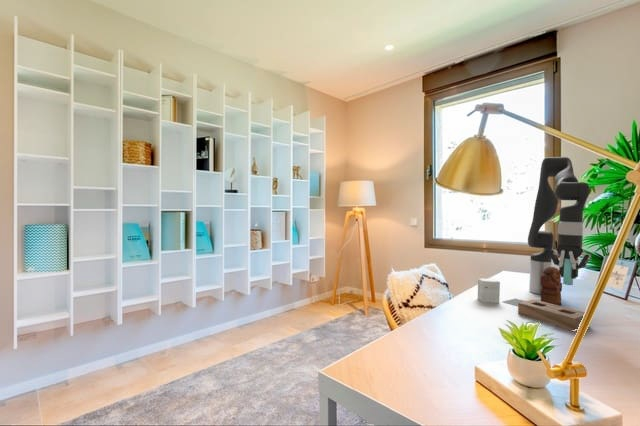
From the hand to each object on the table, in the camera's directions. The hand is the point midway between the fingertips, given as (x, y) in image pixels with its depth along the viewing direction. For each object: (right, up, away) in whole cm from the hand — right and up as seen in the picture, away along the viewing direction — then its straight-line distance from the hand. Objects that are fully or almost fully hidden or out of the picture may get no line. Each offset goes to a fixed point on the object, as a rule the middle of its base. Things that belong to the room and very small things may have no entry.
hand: (568, 277), depth 122 cm
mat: (-2, -18, +25) cm, 31 cm away
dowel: (0, -3, 0) cm, 3 cm away
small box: (-16, -18, +28) cm, 37 cm away
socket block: (-3, -18, +5) cm, 19 cm away
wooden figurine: (+11, -18, +24) cm, 33 cm away
